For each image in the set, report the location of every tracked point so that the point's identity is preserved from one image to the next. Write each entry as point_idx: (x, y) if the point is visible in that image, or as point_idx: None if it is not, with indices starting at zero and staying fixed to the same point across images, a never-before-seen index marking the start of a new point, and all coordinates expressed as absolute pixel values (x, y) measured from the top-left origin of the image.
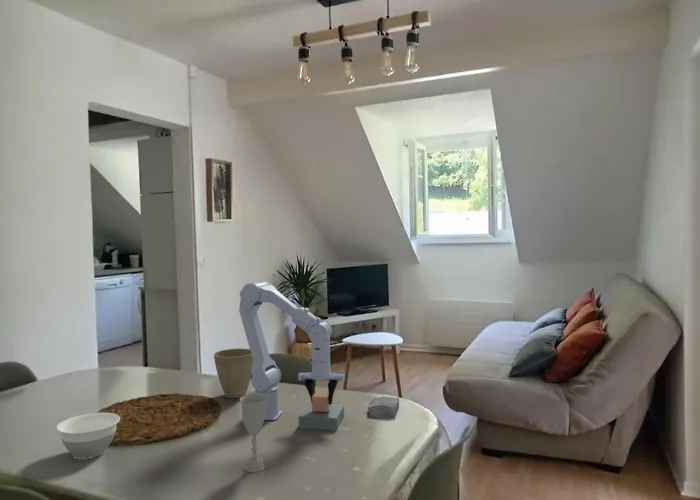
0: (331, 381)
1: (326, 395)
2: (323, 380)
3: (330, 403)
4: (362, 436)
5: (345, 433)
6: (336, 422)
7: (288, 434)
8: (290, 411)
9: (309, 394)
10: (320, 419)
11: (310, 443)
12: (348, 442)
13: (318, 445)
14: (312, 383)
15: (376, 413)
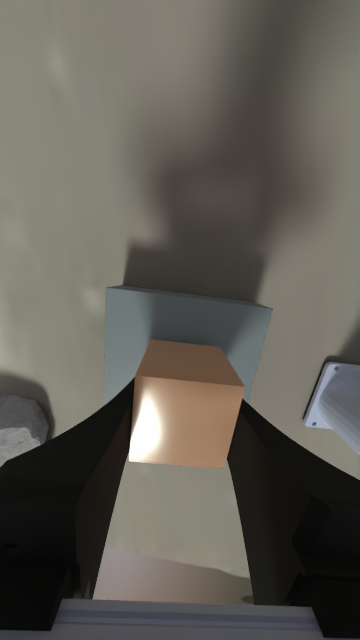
0: (33, 578)
1: (148, 411)
2: (158, 604)
3: (134, 377)
4: (21, 222)
5: (88, 252)
6: (115, 286)
7: (284, 243)
8: (278, 429)
9: (263, 418)
10: (179, 295)
11: (203, 147)
12: (60, 157)
13: (170, 123)
14: (292, 530)
15: (10, 404)
